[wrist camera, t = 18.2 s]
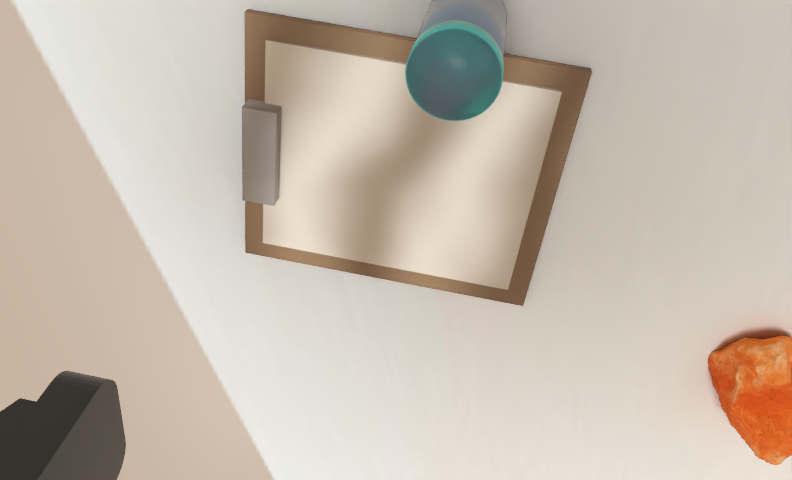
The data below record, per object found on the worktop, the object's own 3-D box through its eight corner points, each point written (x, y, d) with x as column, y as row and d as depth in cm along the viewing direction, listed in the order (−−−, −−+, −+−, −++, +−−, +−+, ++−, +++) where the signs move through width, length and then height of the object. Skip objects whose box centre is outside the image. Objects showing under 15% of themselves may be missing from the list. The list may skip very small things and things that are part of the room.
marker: (516, -21, 29) (512, 36, 23) (499, 57, 31) (492, 128, 25) (435, -35, 29) (411, 19, 23) (423, 44, 31) (399, 112, 25)
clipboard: (591, 68, 30) (593, 81, 29) (522, 301, 38) (522, 318, 37) (247, 9, 31) (237, 19, 30) (247, 247, 39) (239, 263, 38)
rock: (825, 235, 34) (859, 291, 30) (929, 391, 38) (969, 456, 35) (603, 341, 40) (610, 398, 36) (715, 466, 44) (731, 528, 40)
